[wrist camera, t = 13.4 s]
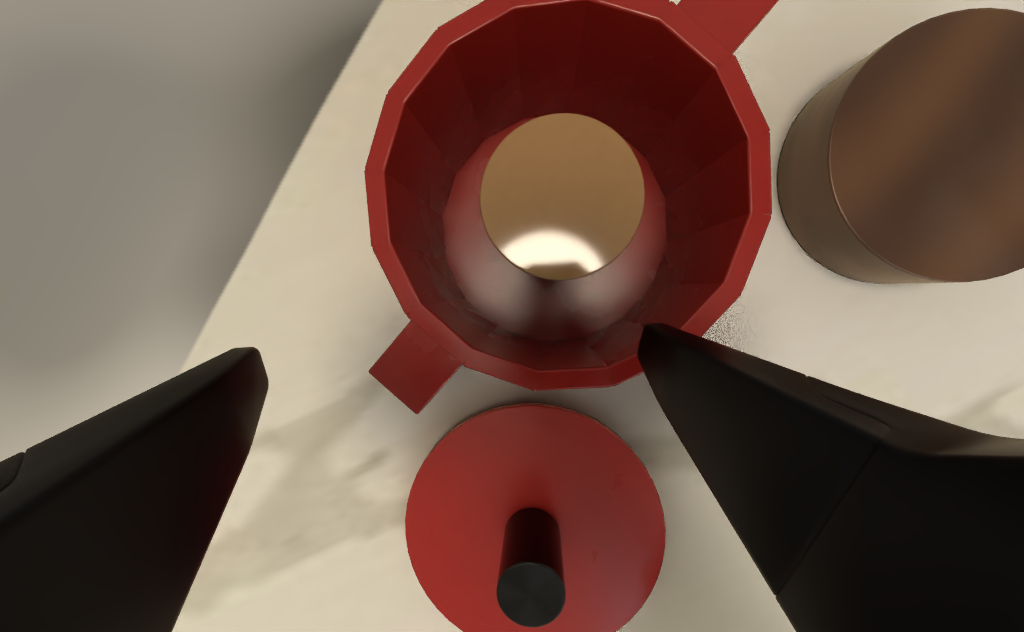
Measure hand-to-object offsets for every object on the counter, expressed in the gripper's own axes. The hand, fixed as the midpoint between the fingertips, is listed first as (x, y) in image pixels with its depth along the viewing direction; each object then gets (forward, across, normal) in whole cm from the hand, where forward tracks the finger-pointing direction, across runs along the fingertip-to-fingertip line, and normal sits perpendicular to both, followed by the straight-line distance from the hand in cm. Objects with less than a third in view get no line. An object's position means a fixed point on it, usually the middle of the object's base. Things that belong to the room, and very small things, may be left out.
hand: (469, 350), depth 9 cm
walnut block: (+9, -22, -3) cm, 24 cm away
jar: (+11, -6, 0) cm, 13 cm away
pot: (+12, -6, 0) cm, 13 cm away
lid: (+5, -4, +15) cm, 16 cm away
